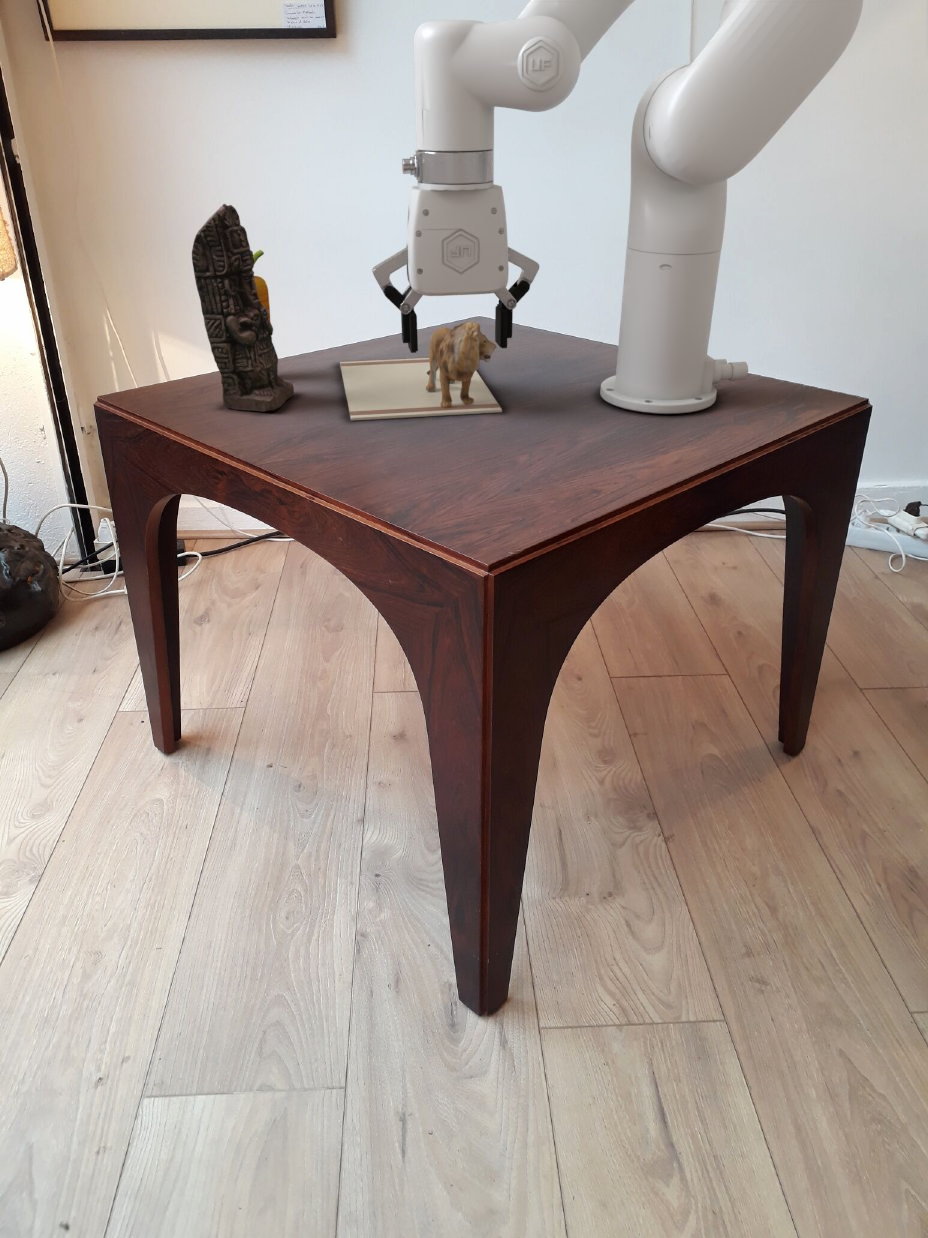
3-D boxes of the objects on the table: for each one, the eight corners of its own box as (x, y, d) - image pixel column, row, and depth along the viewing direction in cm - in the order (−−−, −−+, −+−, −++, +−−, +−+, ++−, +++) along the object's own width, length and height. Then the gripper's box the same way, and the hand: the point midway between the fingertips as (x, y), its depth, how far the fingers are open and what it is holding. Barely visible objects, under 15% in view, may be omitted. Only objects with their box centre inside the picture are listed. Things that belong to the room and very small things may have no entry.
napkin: (466, 358, 115) (466, 355, 115) (501, 412, 97) (502, 409, 96) (340, 364, 113) (339, 361, 113) (351, 420, 94) (350, 417, 94)
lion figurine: (500, 411, 96) (501, 324, 91) (453, 418, 94) (452, 328, 89) (447, 376, 107) (446, 296, 103) (405, 381, 105) (402, 300, 101)
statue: (273, 414, 96) (250, 207, 86) (211, 410, 97) (180, 206, 87) (296, 395, 102) (277, 199, 92) (237, 391, 103) (211, 198, 93)
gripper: (370, 176, 85) (380, 360, 93) (550, 172, 87) (543, 352, 96) (364, 169, 91) (374, 342, 100) (532, 165, 93) (527, 335, 102)
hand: (457, 347), depth 98 cm, fingers open, 9 cm apart
